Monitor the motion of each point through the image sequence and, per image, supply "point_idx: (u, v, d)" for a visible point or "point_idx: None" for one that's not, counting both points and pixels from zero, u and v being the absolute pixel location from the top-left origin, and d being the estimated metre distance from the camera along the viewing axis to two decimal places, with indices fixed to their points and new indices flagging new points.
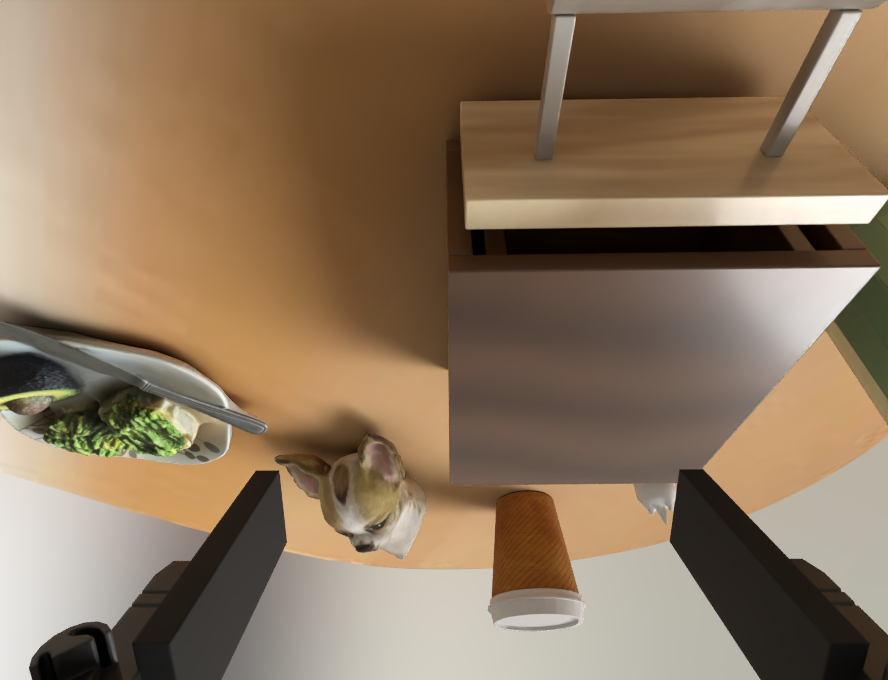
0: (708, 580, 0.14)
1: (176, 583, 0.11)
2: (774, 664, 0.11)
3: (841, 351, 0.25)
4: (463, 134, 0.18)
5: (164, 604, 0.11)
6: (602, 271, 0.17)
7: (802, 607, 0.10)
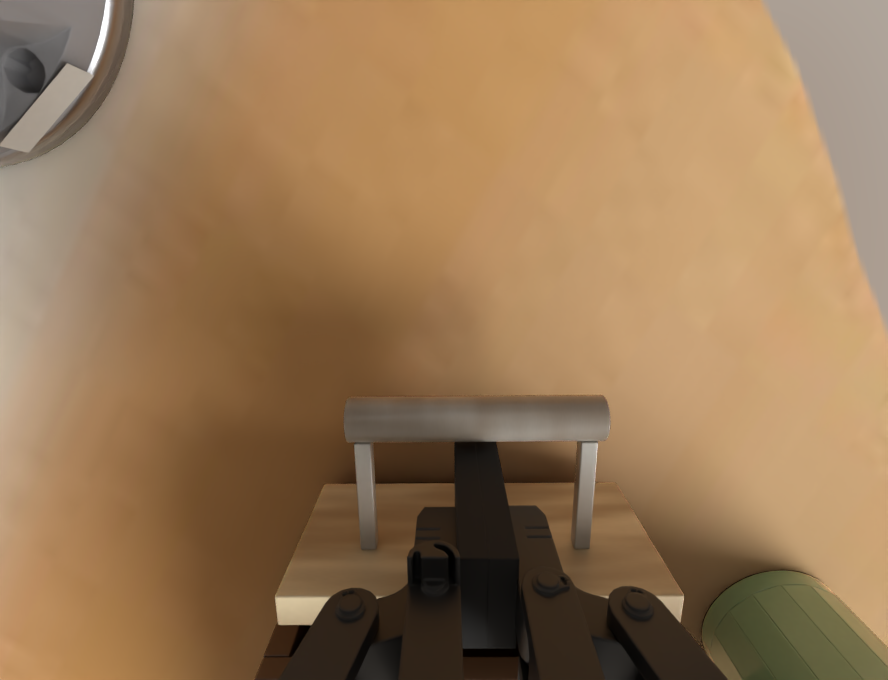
0: None
1: (458, 518, 0.13)
2: None
3: None
4: (309, 519, 0.20)
5: (461, 532, 0.13)
6: None
7: (487, 535, 0.13)
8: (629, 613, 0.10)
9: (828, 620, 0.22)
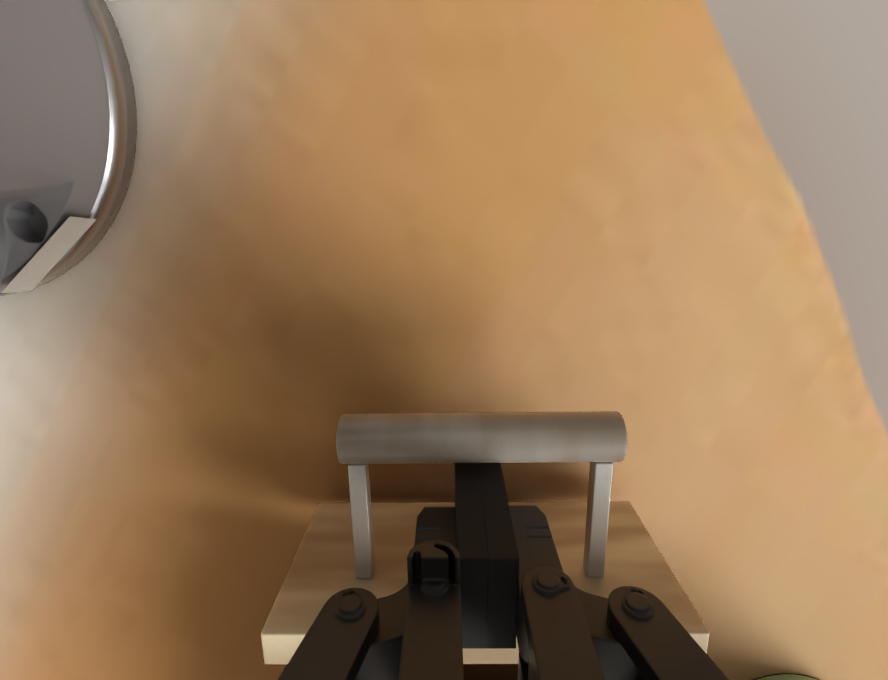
0: None
1: (458, 518, 0.13)
2: None
3: None
4: (300, 543, 0.19)
5: (461, 532, 0.13)
6: None
7: (487, 535, 0.13)
8: (629, 613, 0.10)
9: None
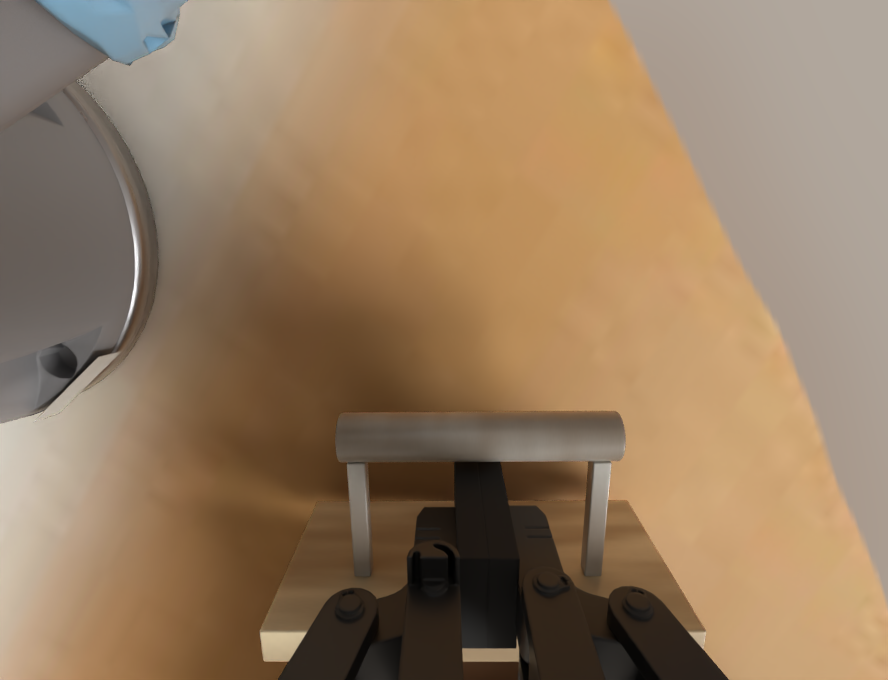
0: None
1: (457, 518, 0.13)
2: None
3: None
4: (299, 541, 0.19)
5: (461, 533, 0.13)
6: None
7: (487, 535, 0.13)
8: (629, 613, 0.10)
9: None
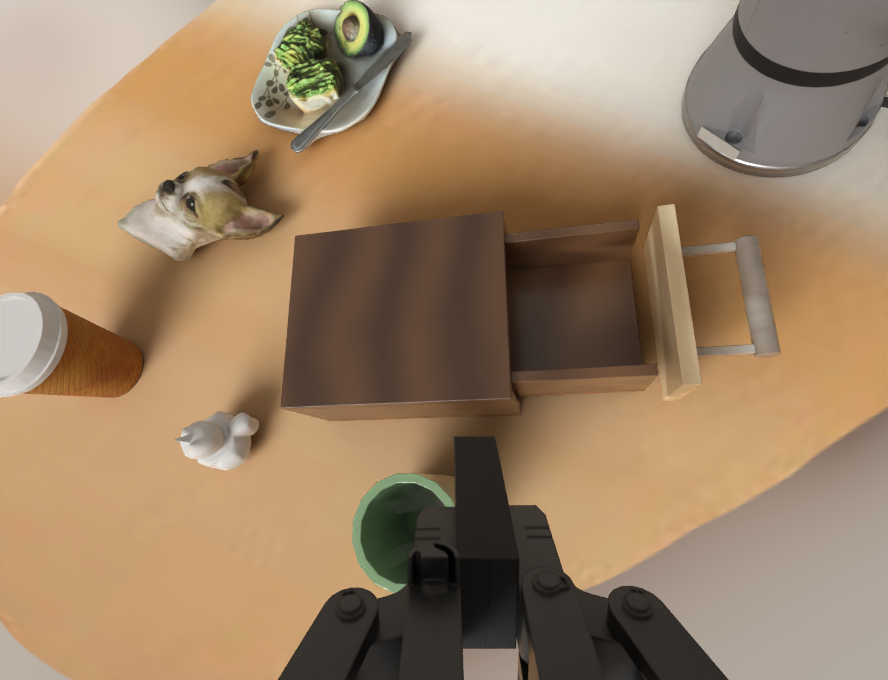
0: None
1: (458, 518, 0.13)
2: None
3: None
4: None
5: (461, 532, 0.13)
6: (504, 273, 0.37)
7: (487, 535, 0.13)
8: (629, 613, 0.10)
9: None
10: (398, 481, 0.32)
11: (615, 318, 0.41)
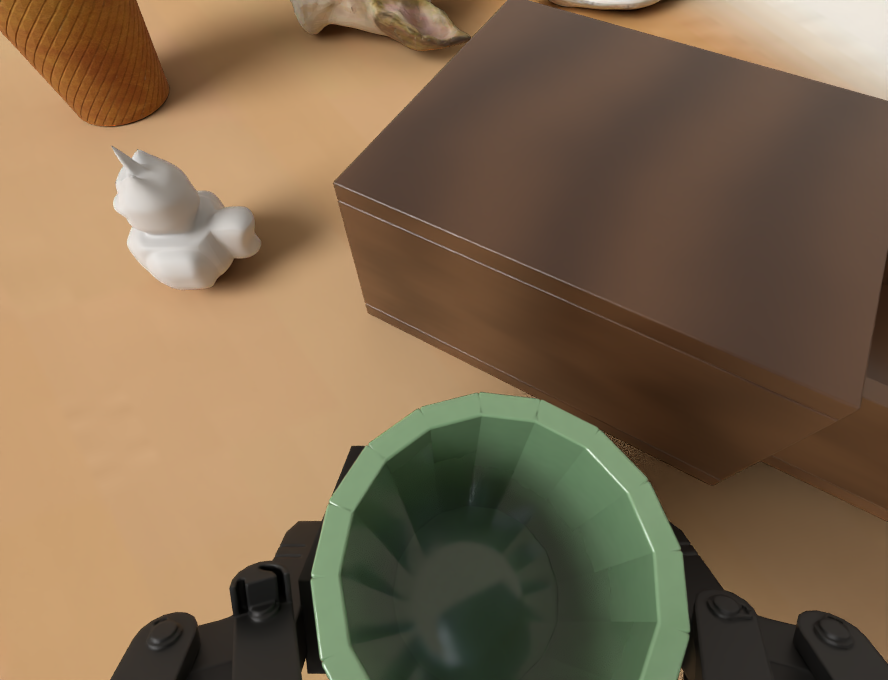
0: None
1: (317, 535, 0.13)
2: None
3: None
4: None
5: (314, 551, 0.12)
6: None
7: None
8: (822, 637, 0.10)
9: None
10: (540, 420, 0.11)
11: None
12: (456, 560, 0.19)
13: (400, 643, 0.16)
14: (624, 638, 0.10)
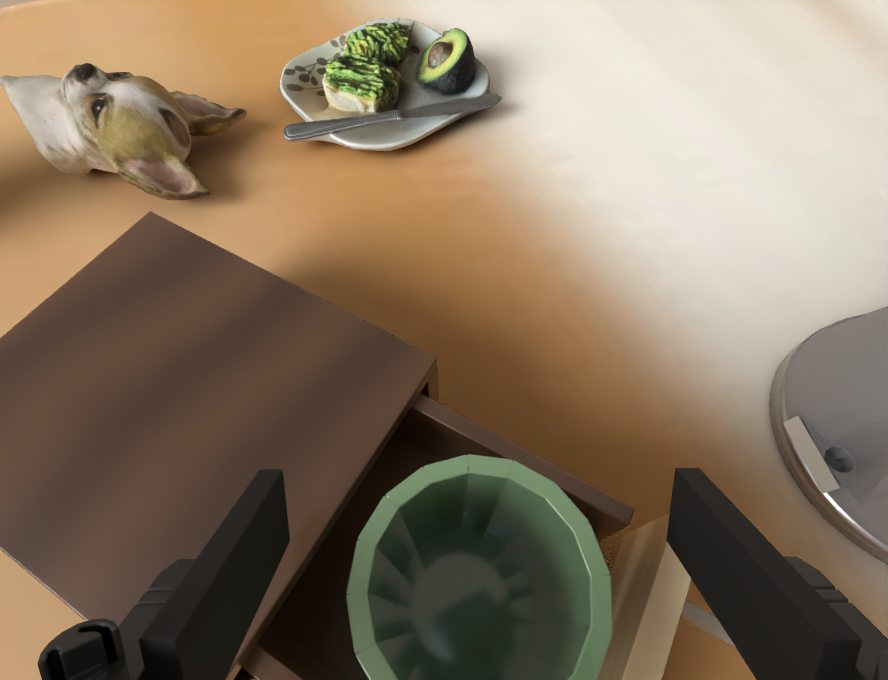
0: (703, 578, 0.14)
1: (182, 581, 0.11)
2: (768, 661, 0.11)
3: None
4: None
5: (170, 601, 0.11)
6: (368, 458, 0.20)
7: (795, 604, 0.10)
8: None
9: None
10: (512, 476, 0.15)
11: None
12: (450, 574, 0.23)
13: (405, 642, 0.20)
14: (571, 637, 0.14)
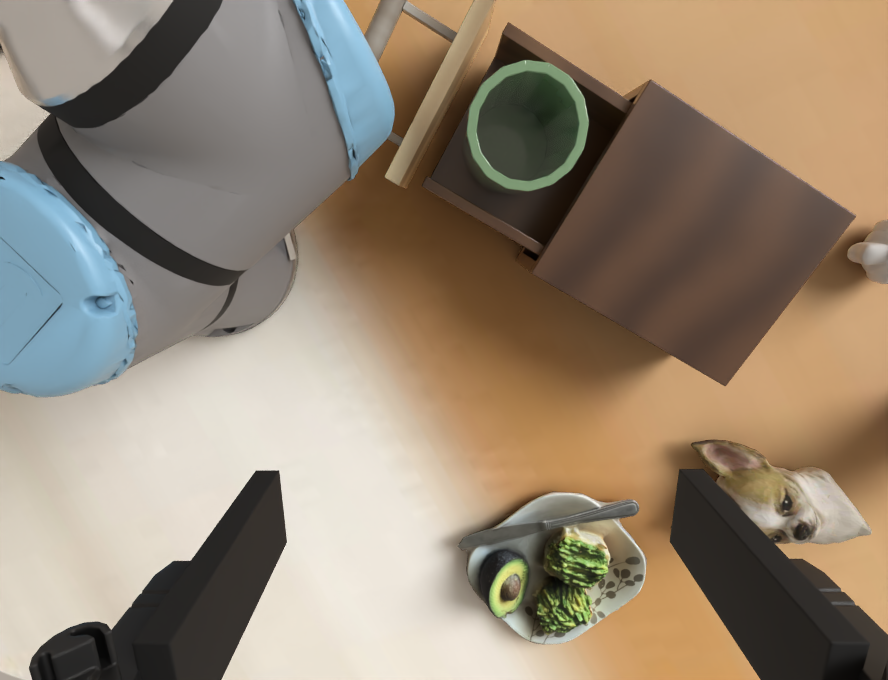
0: (708, 580, 0.14)
1: (176, 583, 0.11)
2: (774, 664, 0.11)
3: None
4: None
5: (164, 604, 0.11)
6: (572, 208, 0.35)
7: (802, 607, 0.10)
8: None
9: None
10: (507, 179, 0.30)
11: None
12: (516, 160, 0.39)
13: (545, 120, 0.37)
14: (480, 109, 0.31)
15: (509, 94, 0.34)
